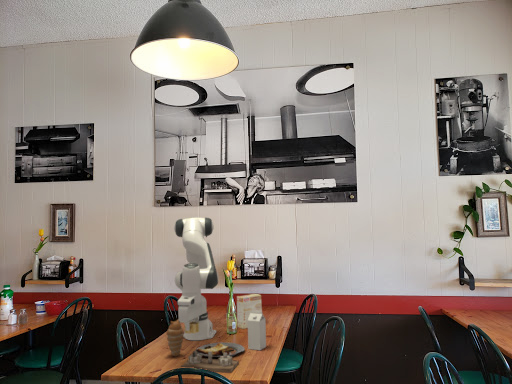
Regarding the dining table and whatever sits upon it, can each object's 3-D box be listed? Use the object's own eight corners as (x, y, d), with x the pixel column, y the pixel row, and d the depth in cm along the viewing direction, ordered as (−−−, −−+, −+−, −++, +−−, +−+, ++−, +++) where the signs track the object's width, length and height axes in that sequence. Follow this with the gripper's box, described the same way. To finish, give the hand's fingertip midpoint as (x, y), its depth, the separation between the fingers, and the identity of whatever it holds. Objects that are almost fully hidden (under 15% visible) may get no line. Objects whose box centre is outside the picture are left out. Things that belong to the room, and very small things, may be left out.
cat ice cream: (177, 352, 219) (176, 317, 221) (187, 355, 214) (187, 319, 216) (163, 357, 213) (163, 320, 214) (173, 360, 208) (173, 322, 209)
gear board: (191, 360, 206) (191, 347, 206) (238, 363, 200) (238, 349, 200) (181, 369, 194) (180, 354, 195) (230, 372, 188) (230, 357, 189)
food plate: (218, 363, 201) (218, 355, 201) (186, 355, 216) (186, 347, 216) (252, 351, 220) (252, 344, 220) (221, 344, 235) (221, 338, 235)
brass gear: (188, 329, 203) (188, 321, 204) (201, 330, 202) (201, 321, 202) (182, 333, 197) (182, 324, 197) (195, 333, 195) (195, 325, 195)
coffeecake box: (256, 323, 279) (256, 293, 280) (262, 325, 273) (261, 294, 274) (236, 326, 271) (236, 295, 272) (242, 329, 265) (241, 297, 266)
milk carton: (254, 345, 229) (253, 309, 230) (266, 347, 226) (265, 310, 227) (248, 349, 223) (247, 312, 224) (260, 350, 219) (259, 313, 221)
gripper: (194, 294, 211) (195, 322, 210) (175, 302, 192) (176, 333, 191) (206, 294, 209) (206, 323, 208) (188, 302, 190) (188, 334, 189)
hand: (191, 328), depth 199 cm, fingers closed on brass gear, 7 cm apart
